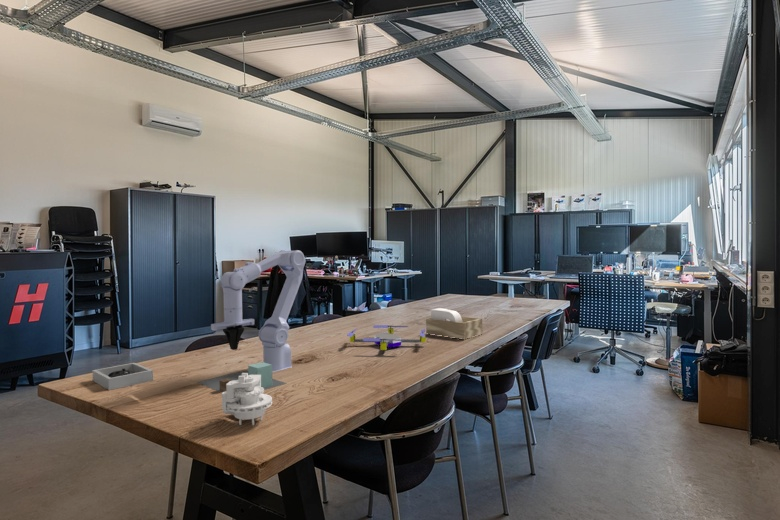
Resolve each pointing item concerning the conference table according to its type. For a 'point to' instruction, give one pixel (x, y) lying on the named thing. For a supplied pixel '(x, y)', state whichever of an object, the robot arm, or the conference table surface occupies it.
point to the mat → (215, 384)
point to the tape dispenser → (445, 315)
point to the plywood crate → (455, 327)
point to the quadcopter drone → (387, 338)
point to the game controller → (119, 373)
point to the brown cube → (223, 384)
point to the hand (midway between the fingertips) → (233, 349)
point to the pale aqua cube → (262, 373)
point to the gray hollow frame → (134, 377)
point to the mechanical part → (245, 398)
